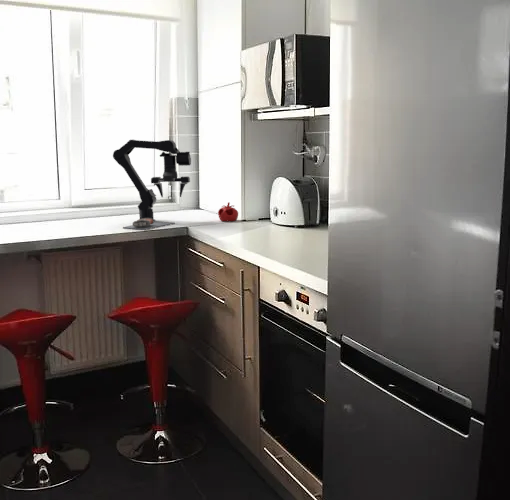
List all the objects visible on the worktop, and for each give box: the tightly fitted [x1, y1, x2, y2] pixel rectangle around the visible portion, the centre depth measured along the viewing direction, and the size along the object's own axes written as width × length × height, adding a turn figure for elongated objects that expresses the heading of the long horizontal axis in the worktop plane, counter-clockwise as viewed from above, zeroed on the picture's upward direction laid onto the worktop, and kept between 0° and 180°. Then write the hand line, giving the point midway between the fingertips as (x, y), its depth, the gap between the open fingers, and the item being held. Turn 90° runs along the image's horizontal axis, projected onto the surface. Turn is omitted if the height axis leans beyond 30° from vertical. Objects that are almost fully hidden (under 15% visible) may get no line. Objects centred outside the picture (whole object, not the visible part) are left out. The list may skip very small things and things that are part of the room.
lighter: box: [132, 218, 155, 227], centre depth 279 cm, size 8×3×10 cm
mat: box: [122, 220, 176, 231], centre depth 285 cm, size 13×22×1 cm, turn 148°
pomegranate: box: [217, 202, 239, 222], centre depth 297 cm, size 10×10×9 cm
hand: (171, 197), depth 299 cm, fingers open, 9 cm apart
